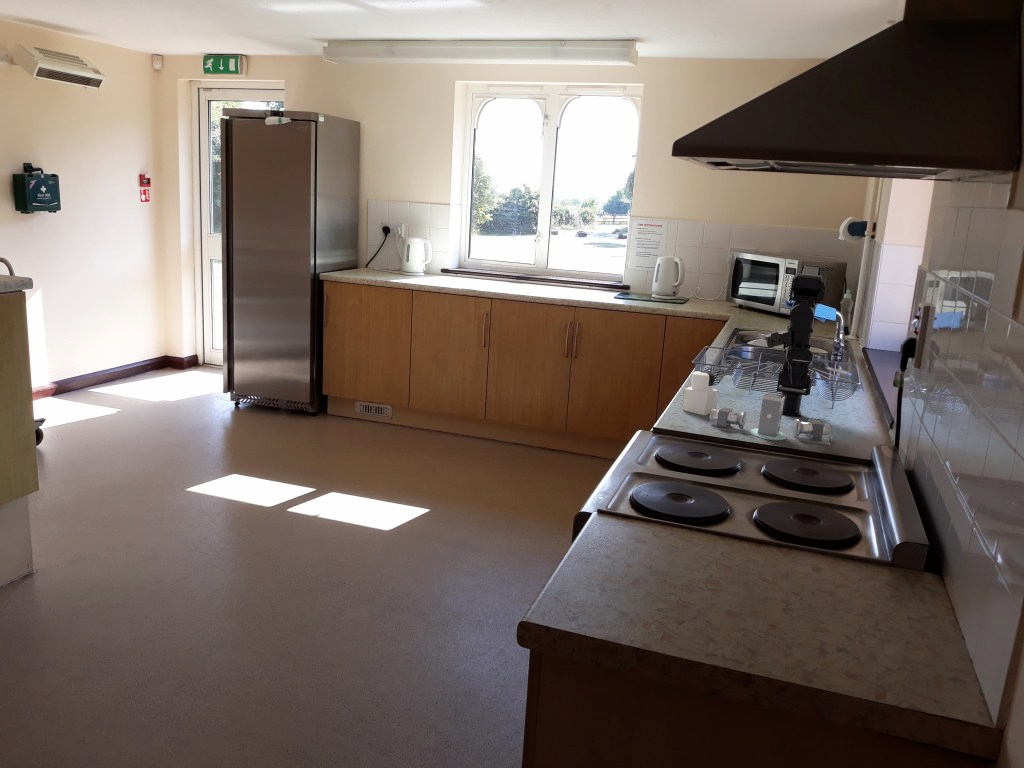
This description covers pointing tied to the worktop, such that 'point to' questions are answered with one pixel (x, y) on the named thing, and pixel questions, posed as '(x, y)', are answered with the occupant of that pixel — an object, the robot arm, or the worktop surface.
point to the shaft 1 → (727, 418)
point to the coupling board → (783, 434)
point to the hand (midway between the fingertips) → (792, 381)
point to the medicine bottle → (700, 394)
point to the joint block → (771, 414)
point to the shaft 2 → (811, 429)
